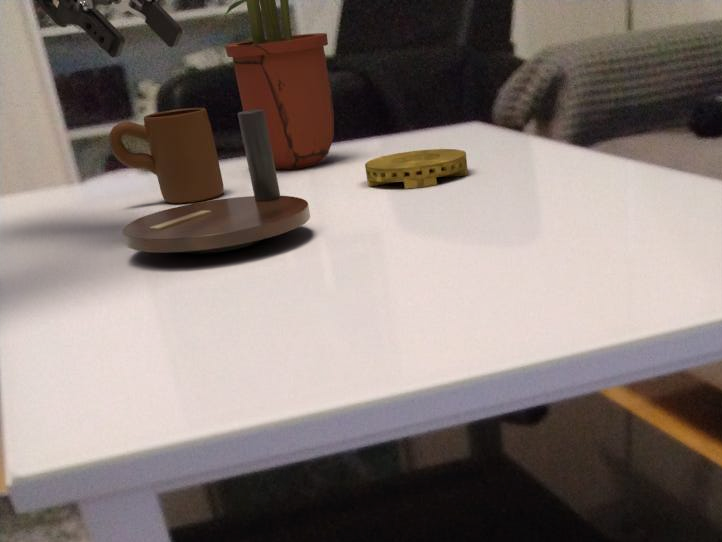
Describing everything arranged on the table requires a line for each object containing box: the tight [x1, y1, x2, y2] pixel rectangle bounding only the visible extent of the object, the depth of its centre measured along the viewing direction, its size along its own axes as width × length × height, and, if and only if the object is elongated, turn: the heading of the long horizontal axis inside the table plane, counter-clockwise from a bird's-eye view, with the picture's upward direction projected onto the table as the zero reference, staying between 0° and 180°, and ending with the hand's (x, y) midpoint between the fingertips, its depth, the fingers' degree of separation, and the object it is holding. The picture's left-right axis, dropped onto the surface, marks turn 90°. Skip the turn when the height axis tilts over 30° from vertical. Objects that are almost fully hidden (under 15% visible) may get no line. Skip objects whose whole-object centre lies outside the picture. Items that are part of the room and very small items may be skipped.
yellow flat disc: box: [364, 148, 469, 190], centre depth 121 cm, size 12×12×2 cm
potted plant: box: [224, 0, 341, 171], centre depth 127 cm, size 17×16×35 cm
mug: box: [108, 107, 225, 204], centre depth 122 cm, size 12×8×9 cm, turn 107°
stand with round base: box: [121, 109, 311, 255], centre depth 98 cm, size 18×18×11 cm
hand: (149, 44), depth 101 cm, fingers open, 8 cm apart
